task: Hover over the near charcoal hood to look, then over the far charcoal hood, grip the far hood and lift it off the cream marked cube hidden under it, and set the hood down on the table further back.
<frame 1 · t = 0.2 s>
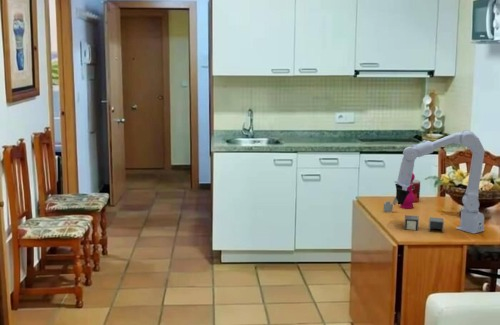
hand: (399, 202, 270), 11 cm above the table, tool pointing down, fingers open, 7 cm apart
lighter: (390, 212, 294), on the table
canned food: (411, 201, 317), on the table
cube: (411, 224, 266), in the far hood
far hood: (411, 228, 266), on the table
pepper mill: (406, 207, 303), on the table
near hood: (435, 230, 263), on the table
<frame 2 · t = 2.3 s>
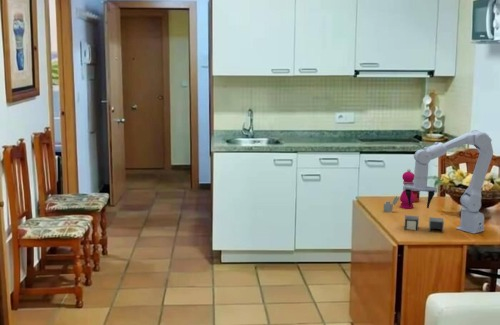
hand: (418, 207, 263), 10 cm above the table, tool pointing down, fingers open, 7 cm apart
nothing on the table moved.
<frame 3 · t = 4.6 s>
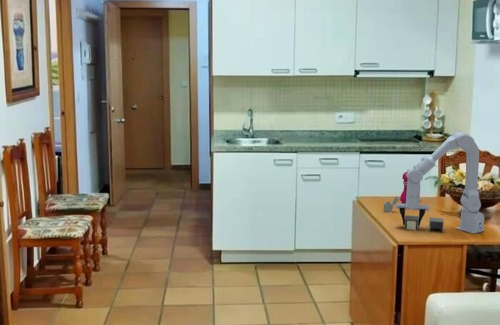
hand: (411, 225, 266), 1 cm above the table, tool pointing down, fingers closed on far hood, 6 cm apart
far hood: (411, 228, 266), on the table, touching gripper
everything else where it was.
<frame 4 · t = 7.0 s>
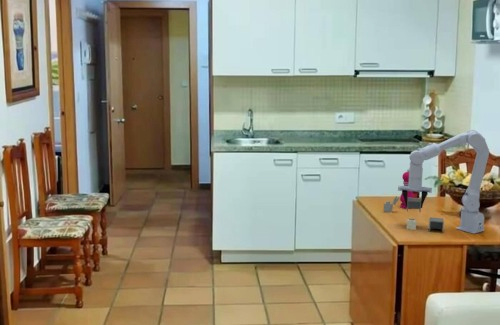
hand: (413, 207, 268), 9 cm above the table, tool pointing down, fingers closed on far hood, 6 cm apart
far hood: (413, 210, 268), point 7 cm above the table, touching gripper
everything else where it was.
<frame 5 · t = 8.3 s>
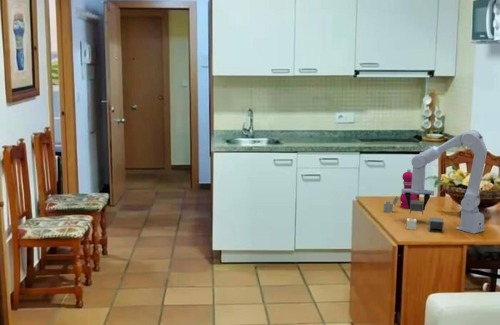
hand: (416, 209, 276), 6 cm above the table, tool pointing down, fingers closed on far hood, 6 cm apart
far hood: (416, 212, 277), point 4 cm above the table, touching gripper
everything else where it was.
when the fingers open (3 cm above the table, at t = 9.4 s): far hood drops 1 cm, on the table.
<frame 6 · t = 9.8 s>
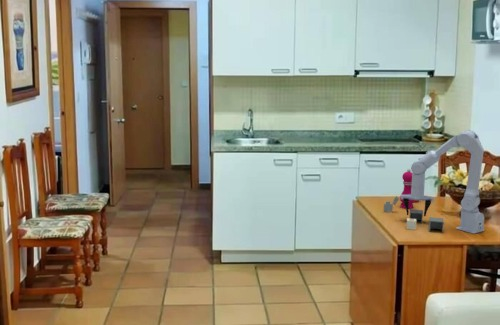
hand: (416, 215, 277), 3 cm above the table, tool pointing down, fingers open, 7 cm apart
far hood: (415, 221, 277), on the table
everything else where it was.
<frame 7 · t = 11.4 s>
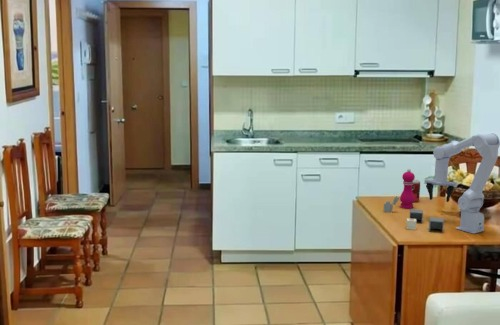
hand: (439, 200, 279), 9 cm above the table, tool pointing down, fingers open, 7 cm apart
nothing on the table moved.
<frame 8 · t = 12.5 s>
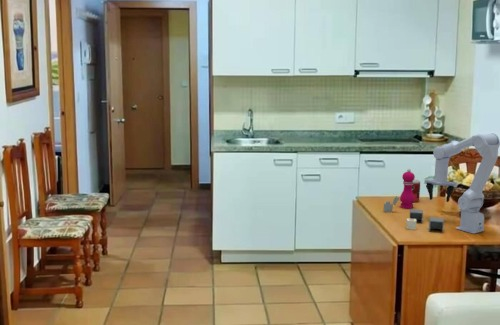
hand: (439, 200, 279), 9 cm above the table, tool pointing down, fingers open, 7 cm apart
nothing on the table moved.
at the end: far hood inside the target area (0.1 cm from its centre), on the table; far hood tilted 0°; cube moved 0.1 cm from its start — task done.
